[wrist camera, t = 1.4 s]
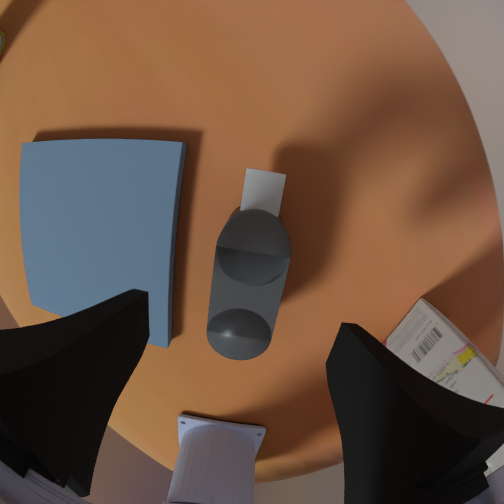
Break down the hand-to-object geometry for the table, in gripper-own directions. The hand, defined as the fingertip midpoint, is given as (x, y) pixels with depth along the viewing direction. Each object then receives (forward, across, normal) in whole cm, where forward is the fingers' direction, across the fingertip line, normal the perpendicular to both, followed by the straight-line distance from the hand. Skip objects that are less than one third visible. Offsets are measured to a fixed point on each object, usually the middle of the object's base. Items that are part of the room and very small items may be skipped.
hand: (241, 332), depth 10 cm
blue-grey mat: (+7, +11, 0) cm, 13 cm away
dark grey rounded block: (+7, 0, 0) cm, 7 cm away
